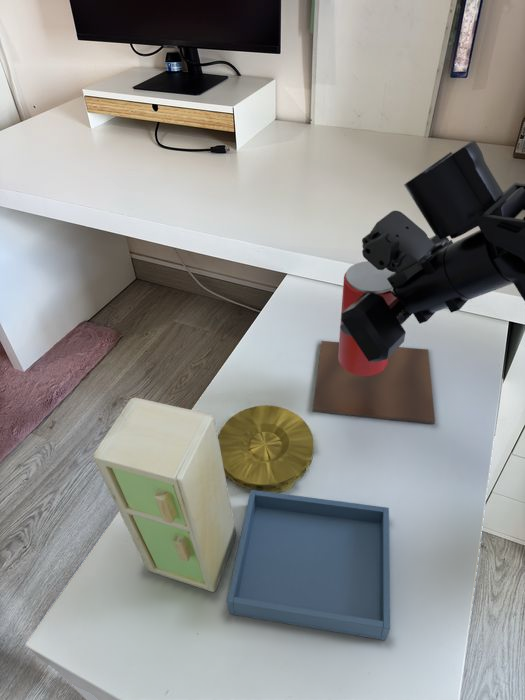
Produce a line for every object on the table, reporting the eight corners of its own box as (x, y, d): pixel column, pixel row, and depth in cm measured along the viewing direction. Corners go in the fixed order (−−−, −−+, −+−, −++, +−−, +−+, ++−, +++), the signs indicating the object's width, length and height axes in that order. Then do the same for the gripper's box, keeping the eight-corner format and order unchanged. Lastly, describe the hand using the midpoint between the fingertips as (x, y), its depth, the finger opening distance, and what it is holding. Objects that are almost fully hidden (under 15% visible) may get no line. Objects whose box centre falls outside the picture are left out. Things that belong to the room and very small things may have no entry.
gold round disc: (200, 470, 62) (197, 460, 61) (247, 404, 70) (246, 394, 68) (287, 510, 58) (287, 500, 56) (327, 435, 65) (328, 424, 64)
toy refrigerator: (142, 578, 53) (85, 462, 39) (172, 516, 58) (132, 393, 44) (212, 601, 51) (179, 488, 37) (237, 535, 56) (217, 413, 42)
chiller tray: (385, 521, 56) (388, 507, 54) (386, 640, 48) (390, 629, 46) (252, 504, 59) (250, 489, 57) (229, 614, 50) (226, 601, 48)
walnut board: (427, 351, 76) (428, 349, 76) (434, 424, 66) (435, 421, 66) (321, 343, 79) (321, 340, 78) (312, 411, 69) (312, 409, 68)
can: (398, 361, 65) (413, 277, 56) (362, 383, 63) (372, 299, 54) (363, 336, 69) (372, 254, 60) (327, 356, 66) (332, 273, 58)
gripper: (463, 166, 53) (363, 229, 66) (366, 241, 43) (272, 297, 56) (516, 255, 54) (409, 299, 67) (435, 347, 44) (327, 378, 57)
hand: (358, 315), depth 62 cm, fingers closed on can, 6 cm apart
